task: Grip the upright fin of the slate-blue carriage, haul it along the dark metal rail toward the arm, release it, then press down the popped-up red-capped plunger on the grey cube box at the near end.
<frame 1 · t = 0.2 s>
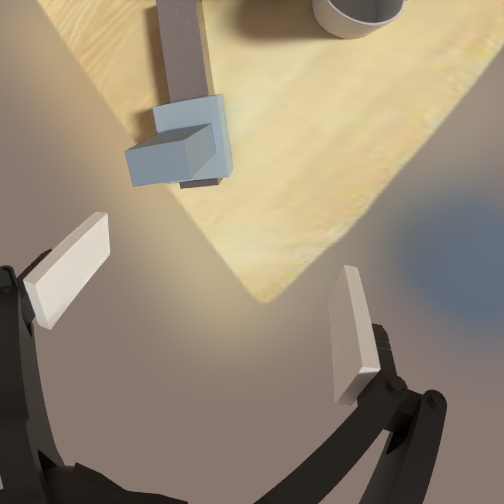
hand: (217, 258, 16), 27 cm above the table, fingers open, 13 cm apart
rail: (194, 83, 36), on the table
mug: (357, 7, 28), on the table
carriage: (181, 146, 32), point 8 cm above the table, slide at 0.0 cm
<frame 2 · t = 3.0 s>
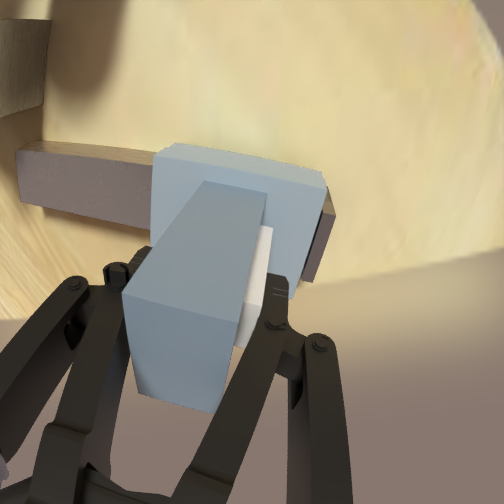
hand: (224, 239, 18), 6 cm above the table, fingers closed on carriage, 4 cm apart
grey cube box: (18, 66, 18), on the table
rail: (154, 182, 23), on the table
carriage: (216, 260, 16), point 8 cm above the table, slide at 0.0 cm, touching gripper
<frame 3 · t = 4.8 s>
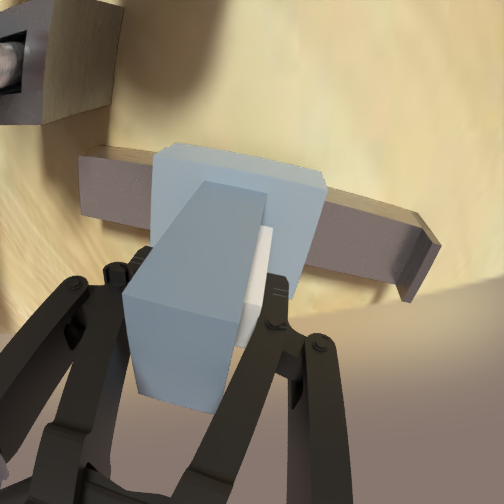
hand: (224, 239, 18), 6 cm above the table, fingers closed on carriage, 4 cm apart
grey cube box: (76, 57, 18), on the table
rail: (250, 201, 23), on the table
carriage: (216, 261, 16), point 8 cm above the table, slide at 7.7 cm, touching gripper
plunger: (4, 65, 11), point 8 cm above the table, slide at 0.0 cm
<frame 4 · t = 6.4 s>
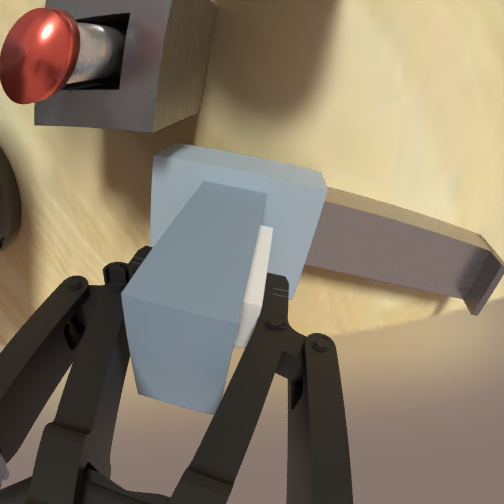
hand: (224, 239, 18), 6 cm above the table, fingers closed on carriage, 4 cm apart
grey cube box: (154, 55, 18), on the table
rail: (343, 223, 23), on the table
carriage: (216, 261, 16), point 8 cm above the table, slide at 15.0 cm, touching gripper
plunger: (90, 52, 11), point 8 cm above the table, slide at 0.0 cm
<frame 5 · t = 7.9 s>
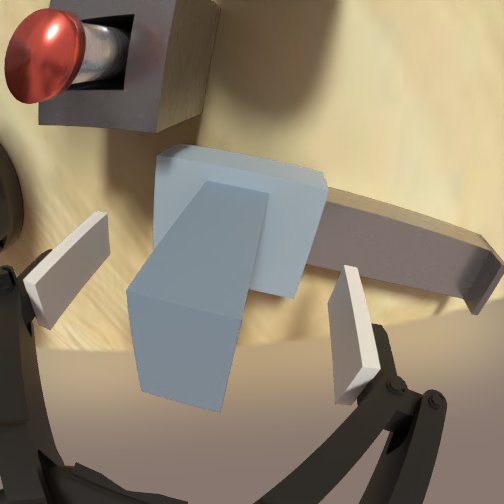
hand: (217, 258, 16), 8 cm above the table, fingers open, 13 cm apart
grey cube box: (157, 56, 18), on the table
rail: (344, 223, 23), on the table
carriage: (219, 260, 16), point 8 cm above the table, slide at 15.0 cm
plunger: (95, 53, 11), point 8 cm above the table, slide at 0.0 cm
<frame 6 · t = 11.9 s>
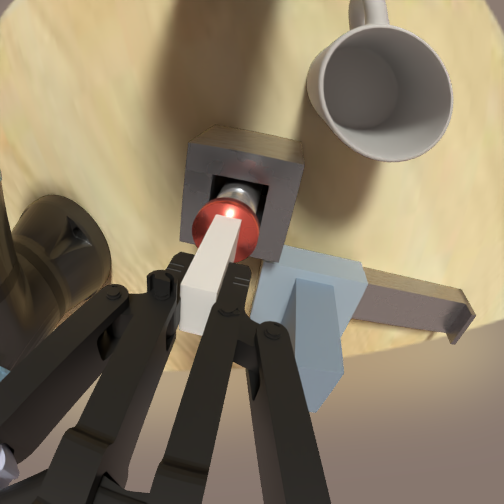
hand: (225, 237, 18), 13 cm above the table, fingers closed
grey cube box: (250, 172, 29), on the table
rail: (369, 287, 34), on the table
mug: (352, 68, 23), on the table
carriage: (306, 328, 27), point 8 cm above the table, slide at 15.0 cm
plunger: (236, 205, 22), point 8 cm above the table, slide at 0.1 cm, touching gripper
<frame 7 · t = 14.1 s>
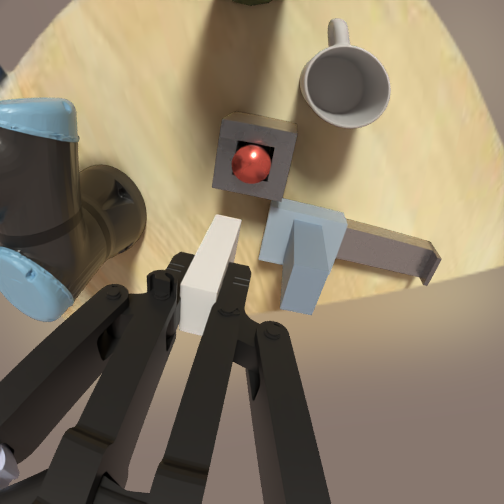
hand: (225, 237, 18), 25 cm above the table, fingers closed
grey cube box: (259, 145, 39), on the table
rail: (352, 236, 44), on the table
mug: (332, 71, 33), on the table
carriage: (302, 255, 37), point 8 cm above the table, slide at 15.0 cm
plunger: (255, 155, 35), point 5 cm above the table, slide at 2.8 cm
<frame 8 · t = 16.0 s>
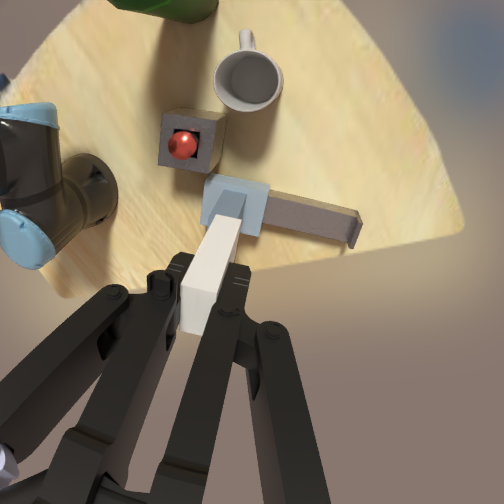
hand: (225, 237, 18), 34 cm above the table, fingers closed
grey cube box: (200, 133, 48), on the table
rail: (283, 206, 54), on the table
bottle: (193, 1, 36), on the table
mug: (255, 70, 42), on the table
carriage: (228, 217, 47), point 8 cm above the table, slide at 15.0 cm
plunger: (191, 139, 44), point 5 cm above the table, slide at 2.8 cm
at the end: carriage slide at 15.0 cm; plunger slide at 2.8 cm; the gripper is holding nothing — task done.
